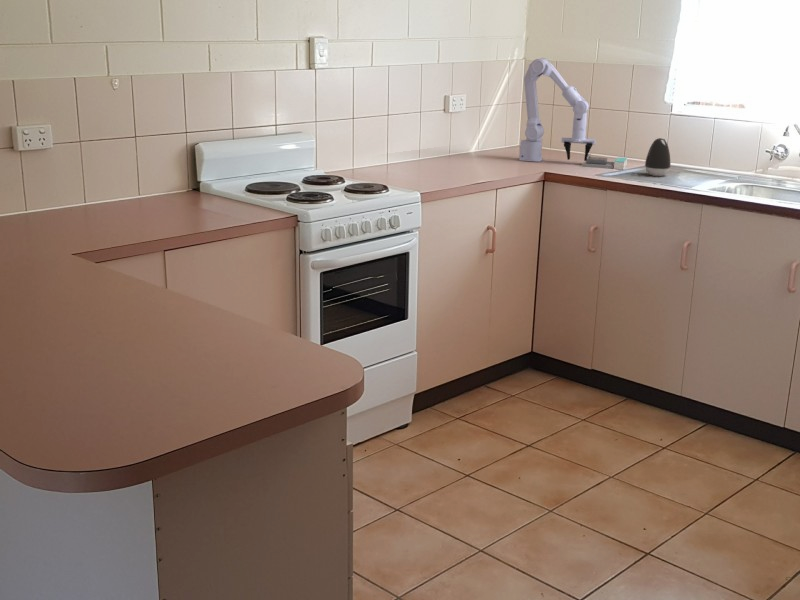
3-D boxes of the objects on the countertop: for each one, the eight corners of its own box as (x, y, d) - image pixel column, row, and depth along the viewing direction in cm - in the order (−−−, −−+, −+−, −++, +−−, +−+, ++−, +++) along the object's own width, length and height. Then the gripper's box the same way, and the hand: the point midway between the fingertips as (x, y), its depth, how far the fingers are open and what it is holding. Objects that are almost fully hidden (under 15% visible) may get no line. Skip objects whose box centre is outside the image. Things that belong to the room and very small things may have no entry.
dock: (582, 166, 402) (582, 159, 401) (586, 162, 413) (586, 155, 412) (623, 169, 397) (623, 162, 396) (626, 165, 407) (627, 158, 406)
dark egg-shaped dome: (672, 174, 386) (676, 138, 382) (665, 178, 378) (669, 140, 373) (648, 172, 392) (652, 135, 387) (640, 175, 383) (644, 138, 379)
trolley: (586, 165, 404) (586, 155, 403) (588, 163, 410) (589, 153, 409) (604, 167, 401) (605, 156, 400) (606, 164, 408) (607, 154, 406)
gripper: (561, 128, 403) (558, 160, 407) (594, 130, 398) (592, 162, 402) (563, 126, 409) (561, 157, 413) (597, 128, 404) (594, 160, 408)
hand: (577, 160), depth 408 cm, fingers open, 7 cm apart
